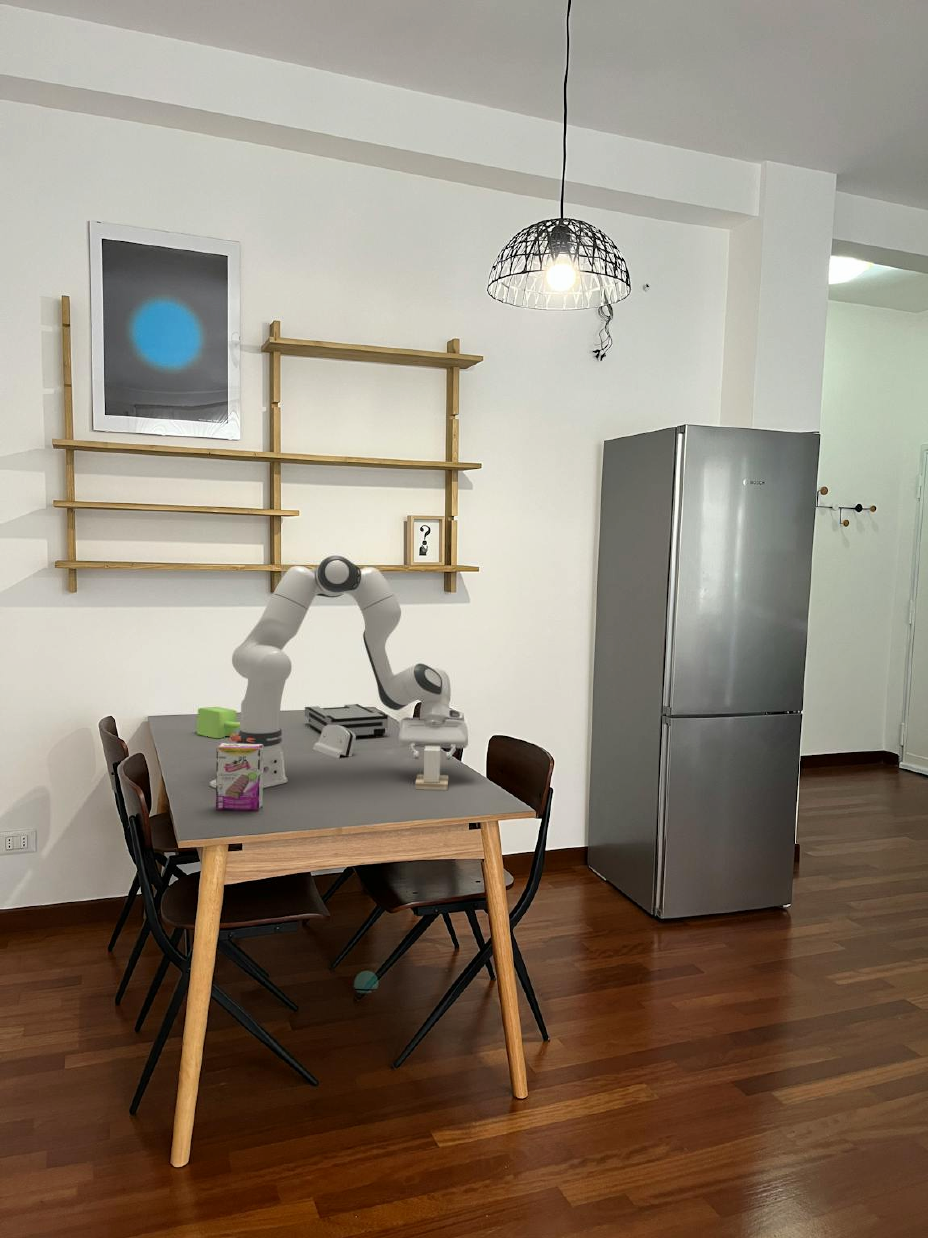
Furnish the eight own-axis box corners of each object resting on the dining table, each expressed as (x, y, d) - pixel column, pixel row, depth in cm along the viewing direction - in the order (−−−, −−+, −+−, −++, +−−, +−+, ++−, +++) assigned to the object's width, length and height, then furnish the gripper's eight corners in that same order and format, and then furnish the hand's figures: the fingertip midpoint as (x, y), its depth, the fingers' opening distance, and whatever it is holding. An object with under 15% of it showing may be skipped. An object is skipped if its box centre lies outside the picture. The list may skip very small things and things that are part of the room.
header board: (447, 790, 261) (447, 773, 260) (415, 789, 261) (415, 772, 260) (448, 780, 272) (448, 764, 271) (417, 779, 272) (417, 763, 271)
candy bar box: (215, 810, 236) (215, 746, 234) (219, 805, 241) (219, 742, 239) (259, 811, 236) (260, 747, 235) (263, 805, 241) (263, 743, 240)
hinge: (312, 749, 308) (321, 719, 310) (323, 752, 311) (332, 723, 313) (338, 758, 295) (347, 728, 297) (350, 761, 298) (359, 731, 300)
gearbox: (248, 737, 326) (249, 711, 326) (227, 741, 318) (228, 713, 317) (212, 730, 336) (213, 704, 335) (191, 733, 327) (192, 706, 327)
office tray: (357, 722, 358) (357, 700, 357) (387, 738, 329) (387, 715, 329) (304, 725, 349) (304, 703, 348) (331, 742, 320) (331, 719, 320)
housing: (438, 782, 263) (439, 750, 262) (423, 781, 263) (424, 750, 262) (439, 776, 270) (440, 745, 269) (425, 775, 270) (425, 745, 269)
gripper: (399, 711, 273) (395, 751, 264) (468, 713, 272) (467, 753, 263) (399, 723, 277) (396, 763, 268) (468, 725, 277) (467, 765, 268)
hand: (432, 758), depth 266 cm, fingers open, 8 cm apart
